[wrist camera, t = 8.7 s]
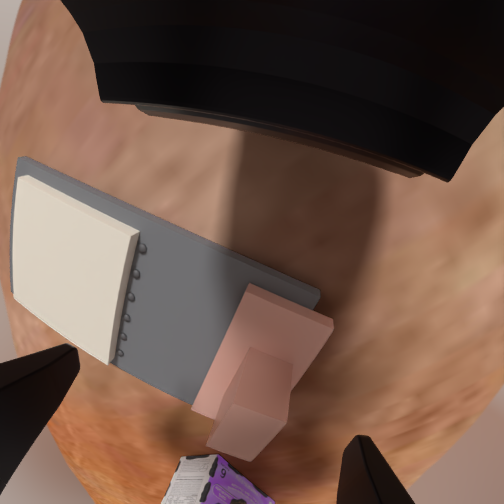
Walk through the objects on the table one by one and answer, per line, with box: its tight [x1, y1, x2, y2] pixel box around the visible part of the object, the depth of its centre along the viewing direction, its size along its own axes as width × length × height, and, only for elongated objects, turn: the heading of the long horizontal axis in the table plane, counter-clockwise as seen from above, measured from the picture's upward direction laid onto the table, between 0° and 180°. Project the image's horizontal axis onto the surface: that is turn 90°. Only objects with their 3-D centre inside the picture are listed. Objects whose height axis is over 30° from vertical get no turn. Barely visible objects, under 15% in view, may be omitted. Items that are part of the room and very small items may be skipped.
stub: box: [191, 283, 334, 462], centre depth 17 cm, size 6×12×6 cm, turn 157°
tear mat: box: [10, 156, 321, 405], centre depth 21 cm, size 26×14×1 cm, turn 67°
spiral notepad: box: [12, 175, 147, 365], centre depth 20 cm, size 13×12×1 cm
